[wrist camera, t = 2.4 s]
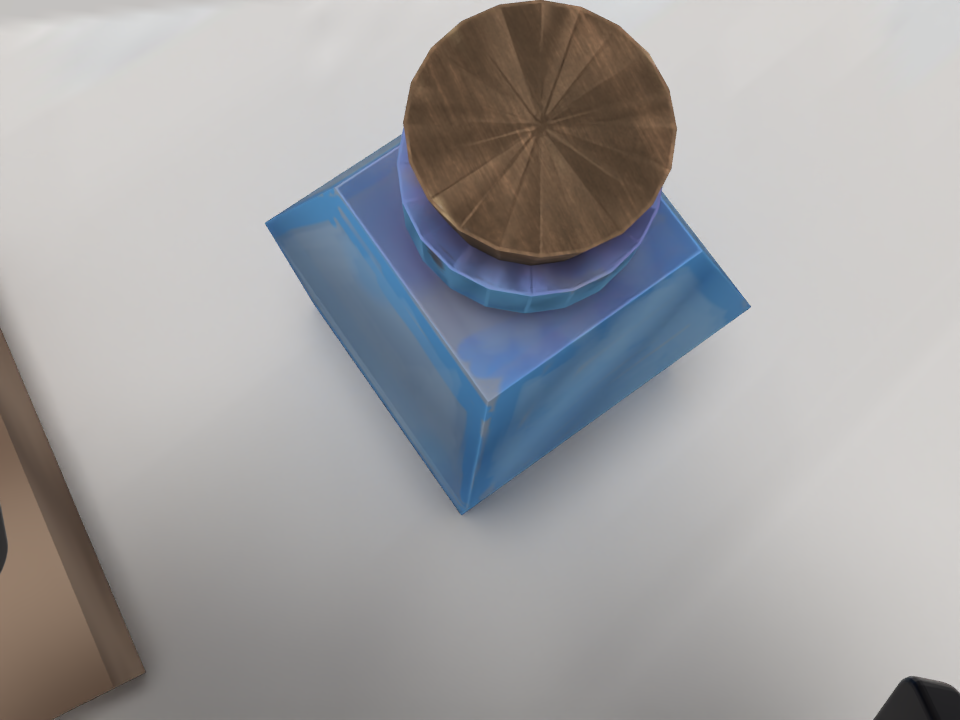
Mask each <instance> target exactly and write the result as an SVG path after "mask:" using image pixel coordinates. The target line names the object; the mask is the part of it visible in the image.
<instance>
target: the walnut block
mask: <svg viewBox="0 0 960 720" xmlns="http://www.w3.org/2000/svg"><path fill="white" fill-rule="evenodd" d="M0 504H1V509H2V514H3V519H4V525H5V530H6V535H7V540H8V553H7V558H6V561H5V564H4V567H3V569H2V571H1V573H0V720H52V719H54V718H56V717H58V716H60V715H62V714H64V713H66V712H68V711H70V710H72V709H74V708H76V707H78V706H80V705H82V704H84V703H86V702H88V701H90V700H92V699H94V698H96V697H98V696H100V695H102V694H104V693H106V692H108V691H110V690H112V689H114V688H116V687H118V686H120V685H122V684H124V683H126V682H128V681H130V680H132V679H134V678H136V677H138V676H140V675H142V674H144V673H146V672H145V670H144V667H143V665H142V662H141V660H140V658H139V655H138V653H137V651H136V648H135V646H134V643H133V641H132V639H131V636H130V634H129V632H128V629H127V627H126V625H125V622H124V620H123V617H122V615H121V613H120V610H119V608H118V606H117V603H116V601H115V598H114V596H113V594H112V591H111V589H110V587H109V584H108V582H107V579H106V577H105V575H104V572H103V570H102V568H101V565H100V563H99V561H98V558H97V556H96V553H95V551H94V549H93V546H92V544H91V542H90V539H89V537H88V534H87V532H86V530H85V527H84V525H83V523H82V520H81V518H80V515H79V513H78V511H77V508H76V506H75V504H74V501H73V499H72V497H71V494H70V492H69V489H68V487H67V485H66V482H65V480H64V478H63V475H62V473H61V470H60V468H59V466H58V463H57V461H56V459H55V456H54V454H53V451H52V449H51V447H50V444H49V442H48V440H47V437H46V435H45V433H44V430H43V428H42V425H41V423H40V421H39V418H38V416H37V414H36V411H35V409H34V406H33V404H32V402H31V399H30V397H29V395H28V392H27V390H26V387H25V385H24V383H23V380H22V378H21V376H20V373H19V371H18V369H17V366H16V364H15V361H14V359H13V357H12V354H11V352H10V350H9V347H8V345H7V342H6V340H5V338H4V335H3V333H2V331H1V328H0Z"/></svg>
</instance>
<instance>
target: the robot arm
mask: <svg viewBox="0 0 960 720" xmlns="http://www.w3.org/2000/svg"><path fill="white" fill-rule="evenodd" d="M7 553H8V540H7V535H6V530H5V525H4V519H3V514H2V509H1V504H0V573H1V571H2V569H3V567H4V564H5V561H6V558H7ZM874 720H960V693H959V692H958V691H957V690H956V689H955V688H954V687H952V686H951V685H949V684H947V683H944V682H941V681H936V680H931V679H926V678H921V677H916V676H909V677H907V678H905V679H903V680H902V681H901V682H900V683H899V684H898V686H897V687H896V688H895V690H894V691H893V693H892V694H891V695H890V697H889V698H888V700H887V701H886V703H885V704H884V705H883V707H882V708H881V710H880V711H879V712H878V714H877V715H876V717H875V718H874Z"/></svg>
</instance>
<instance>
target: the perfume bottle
mask: <svg viewBox="0 0 960 720" xmlns="http://www.w3.org/2000/svg"><path fill="white" fill-rule="evenodd" d="M403 124H404V128H403V133H402V135H400V136H399V137H397V138H395V139H394V140H392V141H391V142H389V143H388V144H386V145H385V146H383V147H382V148H380V149H378V150H377V151H375V152H374V153H372V154H371V155H369V156H368V157H366V158H365V159H363V160H361V161H360V162H358V163H357V164H355V165H354V166H352V167H351V168H349V169H348V170H346V171H344V172H343V173H341V174H340V175H338V176H337V177H335V178H334V179H332V180H331V181H329V182H327V183H326V184H324V185H323V186H321V187H320V188H318V189H317V190H315V191H314V192H312V193H310V194H309V195H307V196H306V197H304V198H303V199H301V200H300V201H298V202H297V203H295V204H293V205H292V206H290V207H289V208H287V209H286V210H284V211H283V212H281V213H280V214H278V215H276V216H275V217H273V218H272V219H270V220H269V221H267V222H266V223H265V224H266V226H267V227H268V229H269V231H270V232H271V234H272V236H273V237H274V239H275V241H276V242H277V244H278V246H279V247H280V249H281V251H282V252H283V254H284V256H285V257H286V259H287V260H288V262H289V264H290V265H291V267H292V269H293V270H294V272H295V274H296V275H297V277H298V279H299V280H300V282H301V284H302V285H303V287H304V288H305V290H306V292H307V293H308V295H309V297H310V298H311V300H312V302H313V303H314V305H315V306H316V308H317V309H318V311H319V312H320V314H321V315H322V316H323V318H324V319H325V321H326V322H327V324H328V325H329V326H330V328H331V329H332V331H333V332H334V334H335V335H336V336H337V338H338V339H339V341H340V342H341V344H342V345H343V347H344V348H345V349H346V351H347V352H348V354H349V355H350V357H351V358H352V359H353V361H354V362H355V364H356V365H357V367H358V368H359V369H360V371H361V372H362V374H363V375H364V377H365V378H366V379H367V381H368V382H369V384H370V385H371V387H372V388H373V390H374V391H375V392H376V394H377V395H378V397H379V398H380V400H381V401H382V402H383V404H384V405H385V407H386V408H387V410H388V411H389V412H390V414H391V415H392V417H393V418H394V420H395V421H396V422H397V424H398V425H399V427H400V428H401V430H402V431H403V432H404V434H405V435H406V437H407V438H408V440H409V441H410V443H411V444H412V445H413V447H414V448H415V450H416V451H417V453H418V454H419V455H420V457H421V458H422V460H423V461H424V463H425V464H426V465H427V467H428V468H429V470H430V471H431V473H432V474H433V475H434V477H435V478H436V480H437V481H438V483H439V484H440V486H441V487H442V488H443V490H444V491H445V493H446V494H447V496H448V497H449V498H450V500H451V501H452V503H453V504H454V506H455V507H456V508H457V510H458V511H459V513H460V514H461V515H462V514H464V513H465V512H467V511H468V510H470V509H471V508H472V507H474V506H475V505H476V504H478V503H479V502H481V501H482V500H483V499H485V498H486V497H488V496H489V495H490V494H492V493H493V492H495V491H496V490H497V489H499V488H500V487H501V486H503V485H504V484H506V483H507V482H508V481H510V480H511V479H513V478H514V477H515V476H517V475H518V474H520V473H521V472H522V471H524V470H525V469H527V468H528V467H529V466H531V465H532V464H533V463H535V462H536V461H538V460H539V459H540V458H542V457H543V456H545V455H546V454H547V453H549V452H550V451H552V450H553V449H554V448H556V447H557V446H559V445H560V444H561V443H563V442H564V441H565V440H567V439H568V438H570V437H571V436H572V435H574V434H575V433H577V432H578V431H579V430H581V429H582V428H584V427H585V426H586V425H588V424H589V423H590V422H592V421H593V420H595V419H596V418H597V417H599V416H600V415H602V414H603V413H604V412H606V411H607V410H609V409H610V408H611V407H613V406H614V405H616V404H617V403H618V402H620V401H621V400H622V399H624V398H625V397H627V396H628V395H629V394H631V393H632V392H634V391H635V390H636V389H638V388H639V387H641V386H642V385H643V384H645V383H646V382H647V381H649V380H650V379H652V378H653V377H654V376H656V375H657V374H659V373H660V372H661V371H663V370H664V369H666V368H667V367H668V366H670V365H671V364H673V363H674V362H675V361H677V360H678V359H679V358H681V357H682V356H684V355H685V354H686V353H688V352H689V351H691V350H692V349H693V348H695V347H696V346H698V345H699V344H700V343H702V342H703V341H704V340H706V339H707V338H709V337H710V336H711V335H713V334H714V333H716V332H717V331H718V330H720V329H721V328H723V327H724V326H725V325H727V324H728V323H730V322H731V321H732V320H734V319H735V318H736V317H738V316H739V315H741V314H742V313H743V312H745V311H746V310H748V309H749V308H750V307H751V306H750V305H749V304H748V302H747V301H746V300H745V298H744V297H743V296H742V294H741V293H740V292H739V291H738V289H737V288H736V287H735V285H734V284H733V283H732V282H731V280H730V279H729V278H728V276H727V275H726V274H725V272H724V271H723V270H722V269H721V267H720V266H719V265H718V263H717V262H716V261H715V259H714V258H713V257H712V256H711V254H710V253H709V252H708V250H707V249H706V248H705V246H704V245H703V244H702V243H701V241H700V240H699V239H698V237H697V236H696V235H695V234H694V232H693V231H692V230H691V228H690V227H689V226H688V224H687V223H686V222H685V221H684V219H683V218H682V217H681V215H680V214H679V213H678V211H677V210H676V209H675V208H674V206H673V205H672V204H671V202H670V201H669V200H668V199H667V197H666V196H665V195H664V193H663V192H662V186H663V184H664V182H665V180H666V178H667V176H668V174H669V172H670V170H671V168H672V160H673V153H674V146H675V139H676V131H677V127H676V122H675V117H674V111H673V106H672V101H671V96H670V91H669V88H668V86H667V85H666V83H665V81H664V79H663V77H662V76H661V74H660V72H659V70H658V69H657V67H656V65H655V63H654V61H653V60H652V58H651V56H650V54H649V53H648V52H647V51H646V50H645V49H644V48H643V47H641V46H640V45H639V44H638V43H637V42H636V41H635V40H634V39H633V38H632V37H631V36H630V35H629V34H628V33H627V32H625V31H624V30H623V29H622V28H621V27H620V26H619V25H617V24H615V23H613V22H611V21H609V20H607V19H605V18H603V17H601V16H599V15H597V14H595V13H593V12H591V11H589V10H587V9H585V8H583V7H579V6H573V5H567V4H562V3H556V2H550V1H544V0H535V1H526V2H518V3H509V4H501V5H497V6H495V7H493V8H490V9H488V10H486V11H484V12H481V13H479V14H477V15H474V16H472V17H470V18H468V19H465V20H463V21H461V22H460V23H459V24H458V25H457V26H455V27H454V28H453V29H452V30H451V31H450V32H449V33H448V34H446V35H445V36H444V37H443V38H442V39H441V40H440V41H438V42H437V43H436V44H435V45H434V46H433V47H432V48H431V49H430V51H429V52H428V54H427V56H426V58H425V59H424V61H423V63H422V64H421V66H420V68H419V70H418V71H417V73H416V75H415V77H414V78H413V80H412V82H411V85H410V90H409V95H408V100H407V105H406V111H405V116H404V121H403Z"/></svg>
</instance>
